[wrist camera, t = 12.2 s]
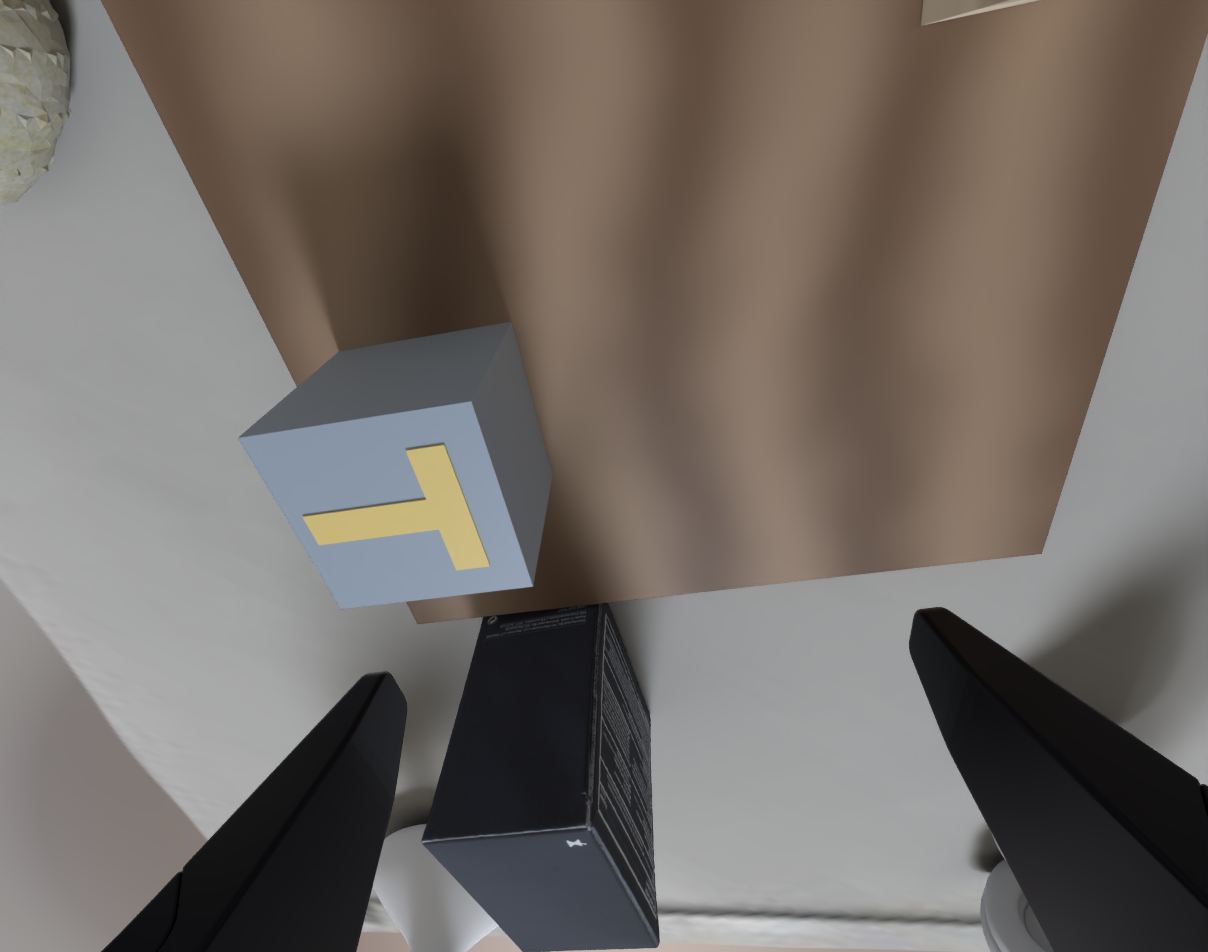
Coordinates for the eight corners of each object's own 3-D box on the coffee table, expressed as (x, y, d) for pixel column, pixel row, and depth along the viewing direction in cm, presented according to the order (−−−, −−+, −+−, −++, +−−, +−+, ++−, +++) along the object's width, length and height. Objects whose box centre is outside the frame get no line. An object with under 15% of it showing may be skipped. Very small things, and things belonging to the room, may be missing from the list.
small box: (474, 608, 27) (405, 846, 18) (603, 584, 26) (597, 823, 17) (544, 734, 33) (517, 963, 24) (653, 718, 32) (667, 951, 23)
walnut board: (1315, -473, 11) (1387, -533, 10) (1023, 535, 24) (1041, 553, 23) (73, -119, 14) (30, -138, 13) (425, 605, 27) (417, 624, 26)
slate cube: (236, 438, 14) (339, 351, 19) (340, 610, 17) (403, 496, 22) (471, 402, 13) (511, 321, 18) (532, 587, 16) (552, 475, 21)
